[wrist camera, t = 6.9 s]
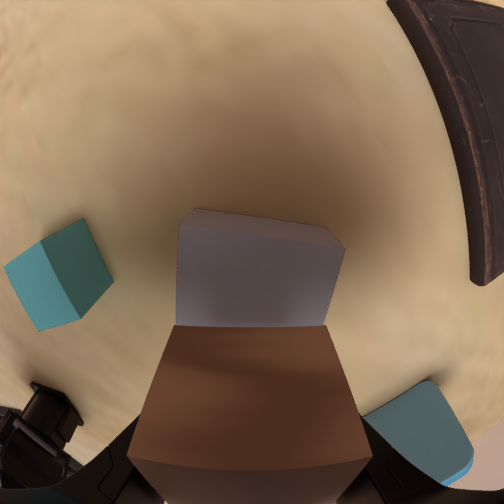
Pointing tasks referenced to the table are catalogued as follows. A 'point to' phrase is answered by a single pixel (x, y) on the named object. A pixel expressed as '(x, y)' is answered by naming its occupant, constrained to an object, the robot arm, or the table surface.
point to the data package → (425, 432)
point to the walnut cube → (249, 418)
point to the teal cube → (59, 277)
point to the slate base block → (253, 271)
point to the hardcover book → (467, 109)
